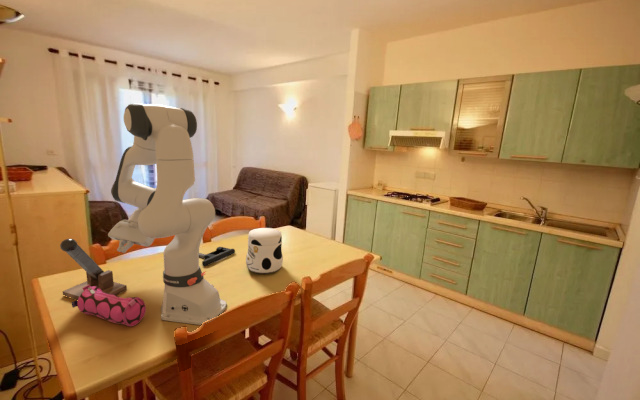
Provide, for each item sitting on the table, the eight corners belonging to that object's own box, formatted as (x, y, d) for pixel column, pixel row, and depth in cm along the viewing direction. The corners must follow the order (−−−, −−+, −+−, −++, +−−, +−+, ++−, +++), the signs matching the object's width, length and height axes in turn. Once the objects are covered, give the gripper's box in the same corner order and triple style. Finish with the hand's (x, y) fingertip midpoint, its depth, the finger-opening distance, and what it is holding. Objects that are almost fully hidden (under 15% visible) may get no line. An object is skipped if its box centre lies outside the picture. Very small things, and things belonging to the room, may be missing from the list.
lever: (111, 274, 111) (75, 237, 97) (101, 284, 108) (63, 246, 94) (102, 272, 112) (65, 235, 98) (93, 282, 109) (53, 244, 95)
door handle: (184, 255, 142) (207, 261, 134) (215, 243, 159) (237, 248, 152) (184, 262, 142) (208, 268, 135) (215, 249, 160) (237, 254, 153)
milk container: (237, 270, 134) (238, 233, 130) (261, 258, 149) (262, 225, 145) (267, 280, 126) (268, 242, 123) (289, 266, 141) (291, 231, 138)
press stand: (126, 289, 112) (125, 271, 110) (95, 306, 101) (92, 285, 99) (96, 281, 117) (94, 263, 115) (63, 296, 105) (60, 276, 104)
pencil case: (72, 320, 93) (68, 292, 91) (101, 304, 102) (98, 278, 100) (125, 334, 88) (123, 305, 86) (151, 316, 98) (149, 289, 96)
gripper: (116, 215, 124) (95, 243, 117) (154, 222, 118) (134, 252, 111) (126, 222, 129) (107, 250, 122) (163, 229, 123) (145, 259, 116)
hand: (120, 251), depth 116 cm, fingers closed
